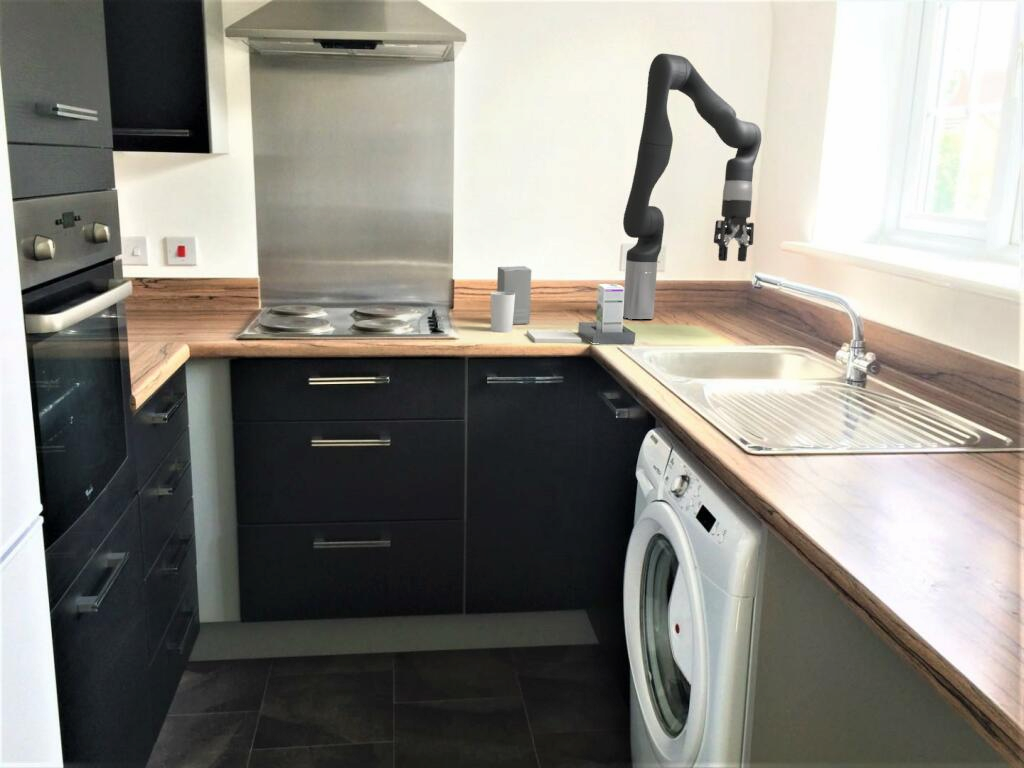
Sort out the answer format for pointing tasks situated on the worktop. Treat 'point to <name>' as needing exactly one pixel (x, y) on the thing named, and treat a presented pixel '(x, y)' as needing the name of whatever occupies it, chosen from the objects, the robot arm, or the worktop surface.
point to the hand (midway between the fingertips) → (732, 261)
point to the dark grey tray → (605, 334)
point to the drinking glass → (502, 311)
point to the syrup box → (610, 308)
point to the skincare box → (517, 290)
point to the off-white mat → (553, 336)
